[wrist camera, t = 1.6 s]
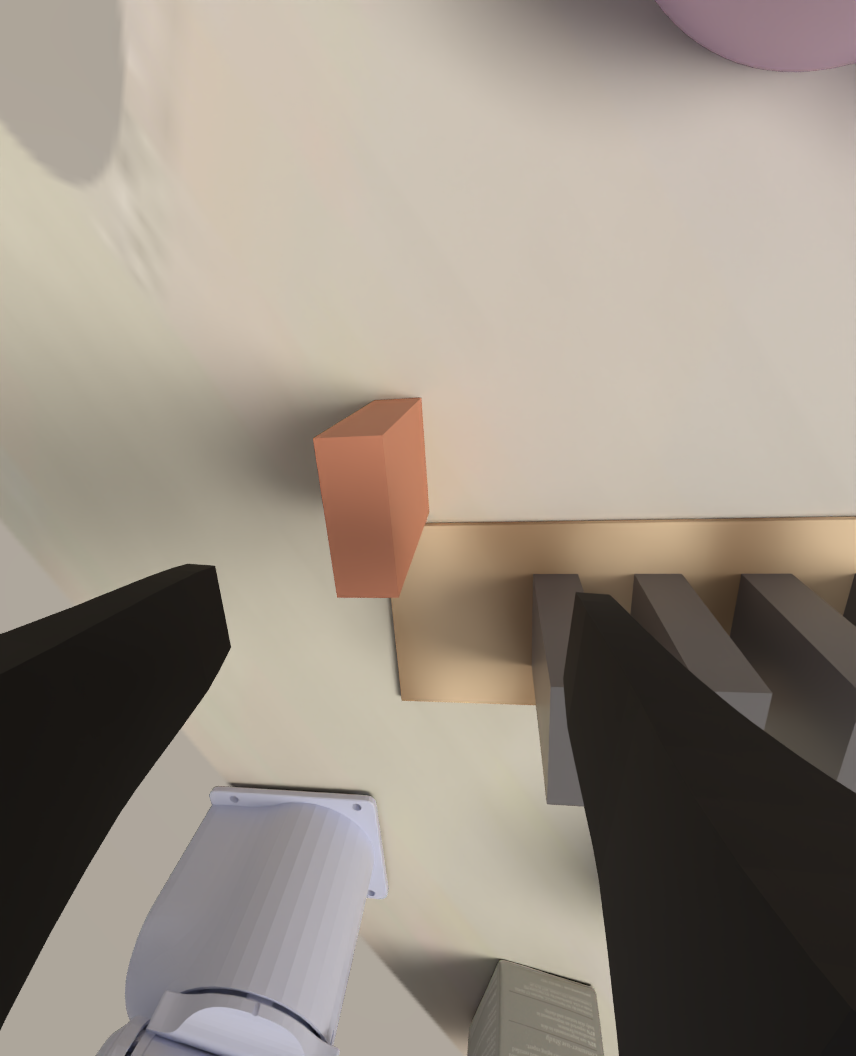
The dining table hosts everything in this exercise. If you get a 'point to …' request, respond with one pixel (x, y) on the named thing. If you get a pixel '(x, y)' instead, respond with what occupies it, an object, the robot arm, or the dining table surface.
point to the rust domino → (374, 495)
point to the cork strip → (603, 568)
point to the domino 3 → (802, 669)
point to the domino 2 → (699, 642)
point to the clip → (771, 31)
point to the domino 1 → (554, 682)
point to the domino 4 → (851, 604)
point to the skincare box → (535, 1016)
